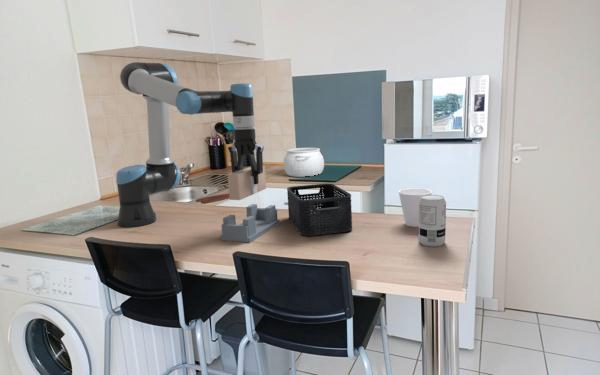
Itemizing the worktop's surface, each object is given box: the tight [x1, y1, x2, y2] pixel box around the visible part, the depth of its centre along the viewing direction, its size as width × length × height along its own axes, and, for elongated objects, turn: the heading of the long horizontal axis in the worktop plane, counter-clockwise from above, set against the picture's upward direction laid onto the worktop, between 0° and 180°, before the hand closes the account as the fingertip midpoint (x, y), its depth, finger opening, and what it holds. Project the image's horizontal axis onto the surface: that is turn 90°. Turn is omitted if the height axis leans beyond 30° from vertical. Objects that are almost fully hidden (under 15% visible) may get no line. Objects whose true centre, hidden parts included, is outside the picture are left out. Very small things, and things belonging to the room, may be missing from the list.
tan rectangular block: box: [227, 164, 267, 201], centre depth 155 cm, size 4×20×9 cm, turn 157°
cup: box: [398, 187, 433, 228], centre depth 156 cm, size 12×12×12 cm
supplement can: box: [417, 194, 447, 247], centre depth 135 cm, size 8×8×15 cm
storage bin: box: [286, 183, 353, 237], centre depth 162 cm, size 29×19×13 cm
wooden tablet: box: [196, 193, 230, 204], centre depth 219 cm, size 27×10×2 cm, turn 133°
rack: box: [219, 203, 281, 243], centre depth 158 cm, size 12×24×8 cm, turn 157°
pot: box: [283, 147, 325, 178], centre depth 277 cm, size 29×26×16 cm
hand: (248, 192), depth 156 cm, fingers closed on tan rectangular block, 4 cm apart
